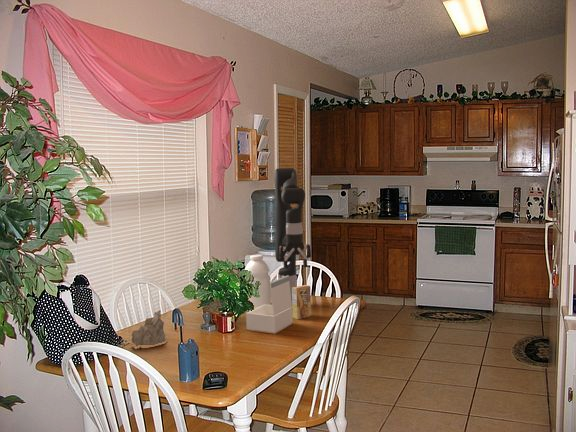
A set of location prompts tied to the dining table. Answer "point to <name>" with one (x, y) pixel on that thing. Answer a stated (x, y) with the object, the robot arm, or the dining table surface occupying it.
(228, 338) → the dining table surface
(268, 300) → the bottle
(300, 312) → the candy box
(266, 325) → the box
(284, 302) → the lid
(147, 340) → the grey rock
